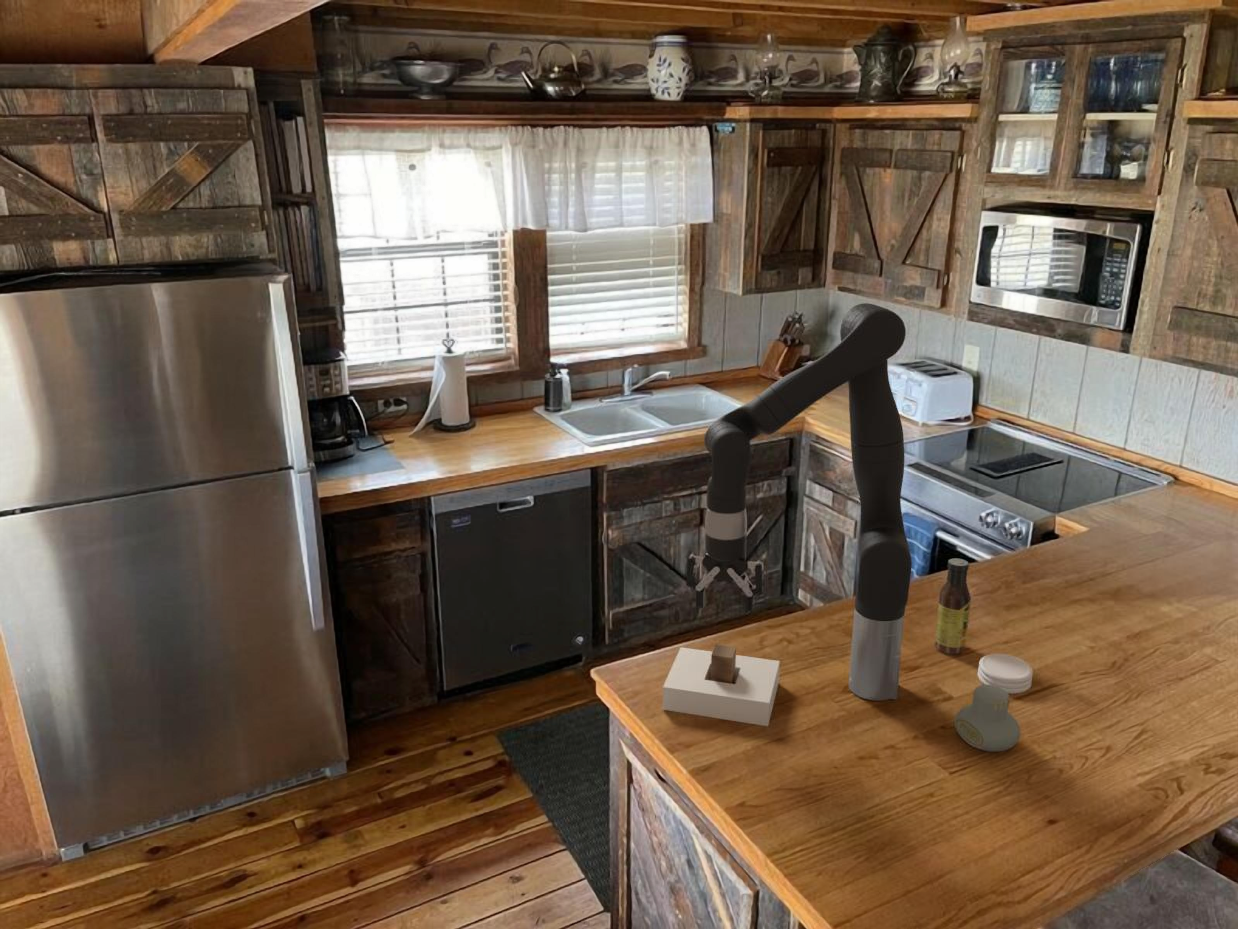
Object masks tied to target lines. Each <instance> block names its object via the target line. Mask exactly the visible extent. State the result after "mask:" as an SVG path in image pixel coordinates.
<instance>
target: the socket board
mask: <svg viewBox="0 0 1238 929" xmlns="http://www.w3.org/2000/svg"><path fill="white" fill-rule="evenodd" d="M712 652H713V651H709V650H702V649H696V648H689V647H682V646H681V647H680V648H679V651H678V652H677V654H676V657H675V659H674V661H673V664H672V665H671V668H670V669H669V672H668V674H667V676H666V679H665V682H664V684H663V686H662V710H663V711H668V712H669V711H670V712H676V713H681V714H689V715H695V716H701V717H706V718H712V719H720V720H726V721H732V722H738V723H746V724H752V725H756V726H757V725H759V726H764V727H769V725H770V724H769V723H770V719H771V717H772V712H773V707H774V704H775V700H776V695H777V691H778V687H779V682H780V681H779V680H780V663H781V661H780V660H777V659H776V660H775V659H767V658H760V657H752V656H745V655H739V654H736V666H735V684H730V683H723V682H717V681H711V655H712Z"/></svg>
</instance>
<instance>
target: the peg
mask: <svg viewBox="0 0 1238 929" xmlns="http://www.w3.org/2000/svg"><path fill="white" fill-rule="evenodd" d="M711 652H712V655H711V681H717V682H723V683H730V684H735V666H736V655H737V647H736V646H735V647H734V646H729V645H721V644H715V645H714V648H713V649H712V651H711Z"/></svg>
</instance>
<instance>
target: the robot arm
mask: <svg viewBox="0 0 1238 929" xmlns="http://www.w3.org/2000/svg"><path fill="white" fill-rule="evenodd" d="M906 333H907V332H906V325H905V323H904V321H903V319H902V318H901V317H900V316H899V315H898V314H897V313H895V311H892V310H890V309H888V308H886V307H882V306H880V305H878V304H877V305H876V304H873V303H868V302H866V303H858V304H856V305H854V306H852V307H851V308H850V309H849V310H848V311H847V312H846V313H845V314H844V317H843V319H842V321H841V324H840V331H839V336H840V337H839V338H840V342H839V343H838V344H837V345H836V346H834V347H833V348H832V349H831V350H829V351H828V352H827V353H825V354H824V355H822V356H821V357H819V358H818V359H816V360H814V361H811V362H810V363H808V364H806V365H804V366H802V367H799V368H798V369H796V370H794V371H792V372H790V373H788V374H786V375H784V376H782V377H781V378H780V379H778V380H777V381H775V382H774V383H772V384H771V385H770V386H768V387H767V388H766V389H764V390H763V391H762V392H760V393H759V394H758V395H757V396H755V397H754V398H752V400H750V401H749V402H747V403H745V404H743V405H741V406H739V407H737V408H735V409H733V410H731V411H729V412H728V413H726V414H724V415H722V416H721V417H719V418H718V419H716V420H715V421H714V422H712V424H710V426H709V427H708V428H707V430H706V432H705V434H704V437H703V438H704V440H703V442H704V446H705V449H706V450H707V452H708V453H709V455H710V456H711V476H710V477H709V479H708V480H707V484H706V485H707V487H706V511H705V512H706V513H705V519H704V520H705V521H704V522H705V523H704V531H705V532H704V535H705V536H704V543H705V544H704V556H700V555H697V554H696V553H695V552H691V553H690V555H689V557H688V559H687V566H686V582H685V583H686V584H685V586H686V587H688V588H694V589H695V592H696V594H695V595H696V596H695V597H696V599H695V601H696V605H697V606H699V609H702V610H703V609H705V606H706V592H707V591H706V589H707V588H706V586H707V585H708V584H709V583H710V582H711V581H712V580H713V581H715V582H718V583H720V582H726V583H729V584H733V583H736V585H737V586H738V587H739V589H741V590H742V591H743V592H744V594H745V596H744V614H747V615H749V613H750V612H752V611H753V609H754V606H755V604H754V603H755V595H760V596H761V595H762V594H763V592H764V588H765V570H764V569H765V568H764V567H765V564H764V561H763V559H758V560H756V561H752V560H751V561H749V560H748V558H747V530H748V526H747V525H748V517H747V508H746V507H747V481H748V479H749V478H748V477H749V473H750V469H751V468H750V467H751V463H752V462H751V461H752V446H751V442H750V441H752V440H753V439H755V438H757V437H758V436H761V435H768V436H769V435H773V434H774V433H776V432H777V431H780V430H781V429H782V428H783V427H785V426H786V425H787V424H789V423H790V422H791V421H793V419H795V418H796V417H797V416H799V415H801V414H802V413H803V412H804V411H806V410H807V409H808V408H809V407H810V406H812V405H814V404H815V403H816V402H818V401H820V400H821V399H822V398H823V397H825V396H826V395H828V394H830V393H831V392H833V391H834V390H836V389H838V388H839V387H840V386H843V385H844V384H846V383H848V384H847V385H848V407H849V411H848V412H849V425H850V427H849V428H850V450H851V460H852V461H851V462H852V468H853V476H854V480H855V484H856V485H855V486H856V488H857V493H858V495H859V496H858V497H859V503H860V507H859V508H860V515H859V516H860V521H859V522H860V524H859V536H858V538H859V540H858V547H857V548H858V551H857V552H858V559H859V560H858V561H859V564H858V577H857V587H856V588H857V590H856V593H855V594H856V595H855V599H854V600H855V601H854V602H855V603H854V612H853V613H854V614H853V626H852V636H851V637H852V639H851V649H850V662H849V672H848V688H849V690H850V691H851V692H852V693H853V694H854V695H856V696H857V697H859V698H862V699H865V700H869V701H878V702H879V701H887V700H897V698H898V690H899V680H900V678H899V677H900V670H901V669H900V668H901V662H902V661H901V659H902V645H903V644H902V642H903V635H904V634H903V632H904V625H905V624H904V622H905V613H906V606H907V604H908V600H909V594H910V593H909V592H910V584H911V578H912V577H911V576H912V566H913V565H912V555H911V550H910V546H909V542H908V540H907V536H906V531H905V526H904V520H903V513H902V503H901V496H902V495H901V494H902V489H903V488H902V487H903V482H904V474H905V441H904V431H903V424H902V418H901V416H900V412H899V409H898V405H897V402H896V401H895V396H894V394H893V390H892V388H891V384H890V381H889V380H890V377H889V371H888V370H889V369H888V359H890V358H892V357H893V356H895V355H896V354H897V353H898V352H899V351H900V349H901V348H902V347H903V345H904V342H905V340H906V335H907V334H906ZM701 564H702V566H703V568H704V569H705V570H706V572H705V573H704V574H703V575H702V576H701V577H700V579H698V578H696V572H697V571H696V570H697V568H699V566H700V565H701ZM748 569H750V570H751V573H752V574H753V575H754V576H755V577H754V579H755V581H754V582H755V584H754V585H753V583H752V582H751V580H750V579H749V577H748V575H747V573H746V571H747V570H748Z"/></svg>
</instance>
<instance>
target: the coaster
mask: <svg viewBox="0 0 1238 929" xmlns="http://www.w3.org/2000/svg"><path fill="white" fill-rule="evenodd" d="M977 669H978V670H977V678H978V680H979V681H980V682H981V684H982V685H994V686H997V687H1000V688H1002V689H1003V690H1005V691H1006V692H1007V693H1008V694H1015V695H1016V694H1021V693H1025V692H1027V691H1028V690H1029V689H1030V688H1031V686H1032V681H1033V676H1034V671H1033V668H1032V667H1031V665H1030V664H1029V663H1028V662H1026V661H1025V660H1023V659H1022V658H1019V657H1016V656H1014V655H1011V654H1005V653H990V654H986V655H984V656H983V657H981V658H980V660H979V662H978V668H977Z"/></svg>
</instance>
